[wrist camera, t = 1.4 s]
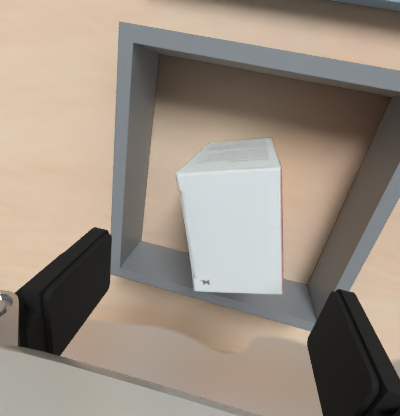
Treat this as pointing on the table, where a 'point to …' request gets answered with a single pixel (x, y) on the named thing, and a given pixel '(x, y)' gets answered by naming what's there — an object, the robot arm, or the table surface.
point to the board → (375, 3)
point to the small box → (234, 217)
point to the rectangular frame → (139, 160)
